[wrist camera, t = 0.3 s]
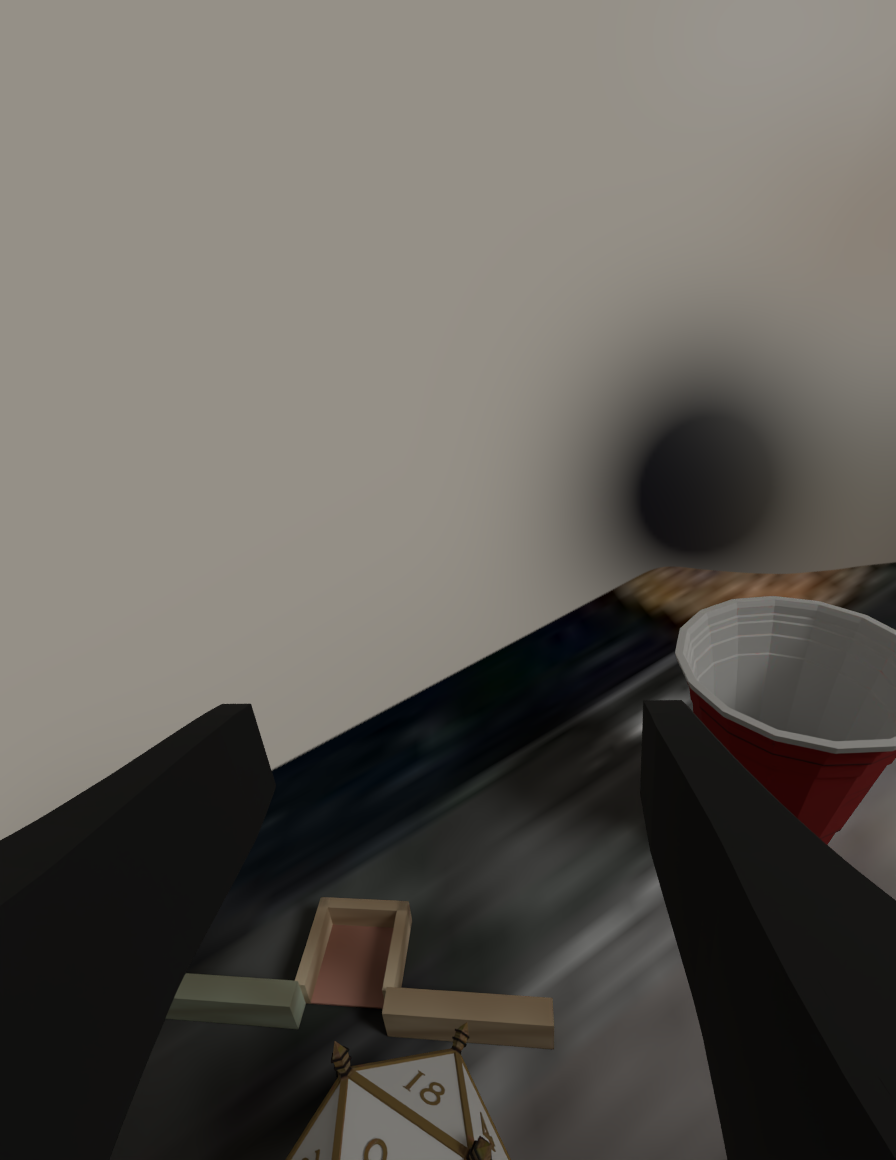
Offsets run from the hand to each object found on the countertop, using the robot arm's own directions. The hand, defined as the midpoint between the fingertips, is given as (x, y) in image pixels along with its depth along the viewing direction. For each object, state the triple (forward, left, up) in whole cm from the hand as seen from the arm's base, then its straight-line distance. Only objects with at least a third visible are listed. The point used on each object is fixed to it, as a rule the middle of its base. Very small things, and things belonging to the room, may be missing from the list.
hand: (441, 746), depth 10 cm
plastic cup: (+15, -14, -21) cm, 29 cm away
